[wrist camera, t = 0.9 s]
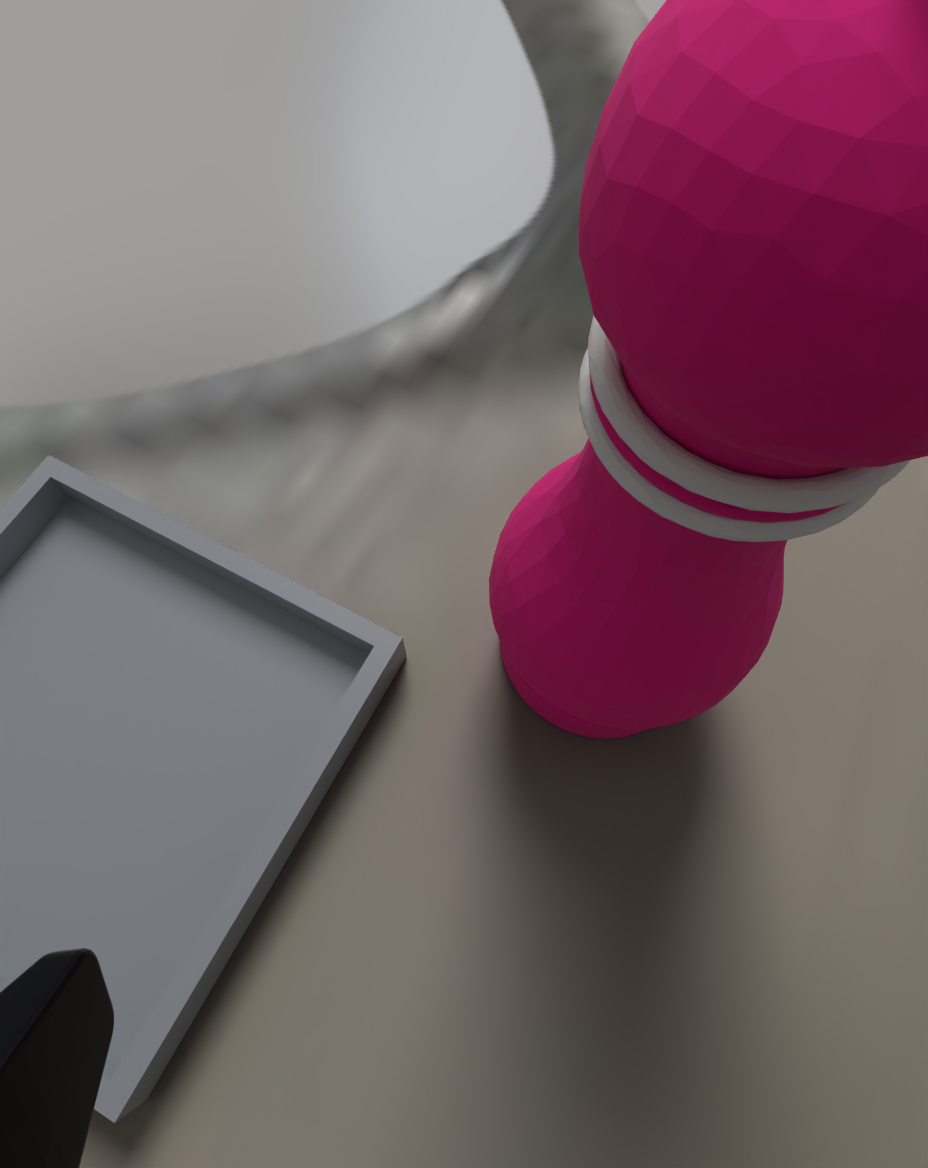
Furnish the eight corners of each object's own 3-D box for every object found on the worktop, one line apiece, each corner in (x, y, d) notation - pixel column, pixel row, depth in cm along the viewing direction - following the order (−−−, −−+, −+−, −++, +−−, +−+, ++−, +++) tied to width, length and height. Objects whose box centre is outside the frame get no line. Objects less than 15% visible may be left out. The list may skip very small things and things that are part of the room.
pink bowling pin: (442, 603, 23) (380, -474, 5) (624, 503, 25) (1112, -615, 6) (565, 802, 21) (1384, 196, 2) (758, 680, 22) (2188, -283, 4)
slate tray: (406, 656, 23) (402, 637, 21) (146, 1101, 18) (114, 1123, 16) (76, 483, 25) (48, 454, 23) (-229, 839, 20) (-290, 836, 19)
